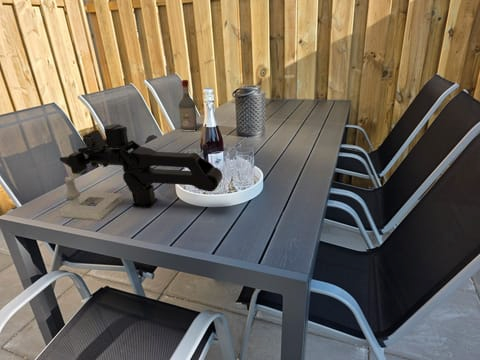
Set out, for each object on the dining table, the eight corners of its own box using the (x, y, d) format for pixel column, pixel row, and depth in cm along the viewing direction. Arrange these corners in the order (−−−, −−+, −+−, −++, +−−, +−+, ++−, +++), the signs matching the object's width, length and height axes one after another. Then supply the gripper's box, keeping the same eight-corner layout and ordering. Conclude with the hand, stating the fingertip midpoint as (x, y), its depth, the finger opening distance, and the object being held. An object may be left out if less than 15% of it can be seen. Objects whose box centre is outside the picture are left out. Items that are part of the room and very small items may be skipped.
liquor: (195, 131, 196) (191, 81, 183) (180, 132, 196) (175, 81, 184) (197, 128, 204) (193, 79, 192) (183, 128, 204) (178, 79, 192)
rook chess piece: (77, 193, 118) (72, 173, 115) (83, 197, 116) (78, 176, 113) (64, 198, 115) (59, 177, 112) (70, 201, 113) (65, 180, 109)
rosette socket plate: (123, 200, 113) (122, 193, 112) (100, 220, 100) (98, 213, 99) (88, 197, 116) (86, 191, 115) (61, 216, 103) (59, 209, 102)
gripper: (121, 125, 111) (81, 124, 114) (88, 141, 94) (42, 139, 97) (127, 155, 115) (88, 154, 118) (96, 175, 98) (52, 173, 101)
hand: (69, 154), depth 108 cm, fingers open, 9 cm apart
